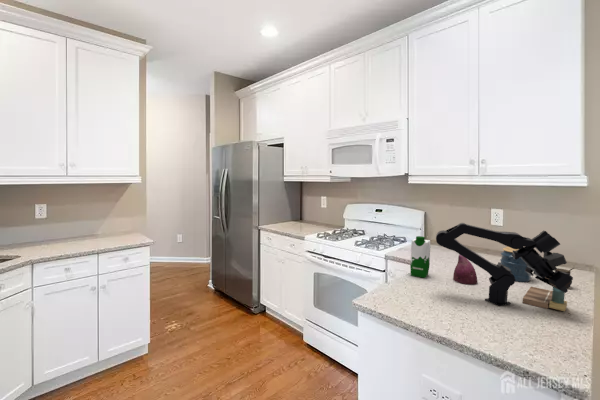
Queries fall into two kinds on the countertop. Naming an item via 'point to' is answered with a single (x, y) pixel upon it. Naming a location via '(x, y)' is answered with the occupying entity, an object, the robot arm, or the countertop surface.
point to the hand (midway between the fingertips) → (562, 290)
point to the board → (538, 297)
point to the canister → (515, 265)
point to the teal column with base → (558, 300)
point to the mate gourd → (566, 272)
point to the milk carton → (420, 257)
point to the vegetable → (464, 272)
